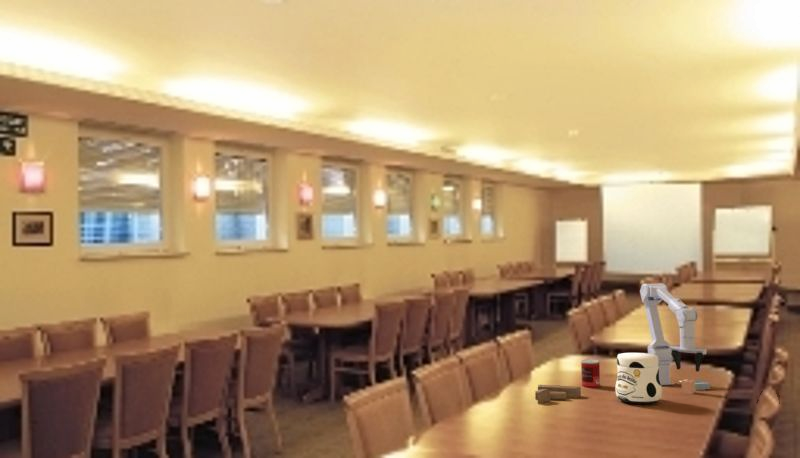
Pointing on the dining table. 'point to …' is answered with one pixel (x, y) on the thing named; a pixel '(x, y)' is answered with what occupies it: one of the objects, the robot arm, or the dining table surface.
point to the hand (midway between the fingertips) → (688, 370)
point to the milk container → (638, 378)
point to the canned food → (590, 373)
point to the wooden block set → (556, 392)
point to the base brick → (701, 385)
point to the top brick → (688, 386)
